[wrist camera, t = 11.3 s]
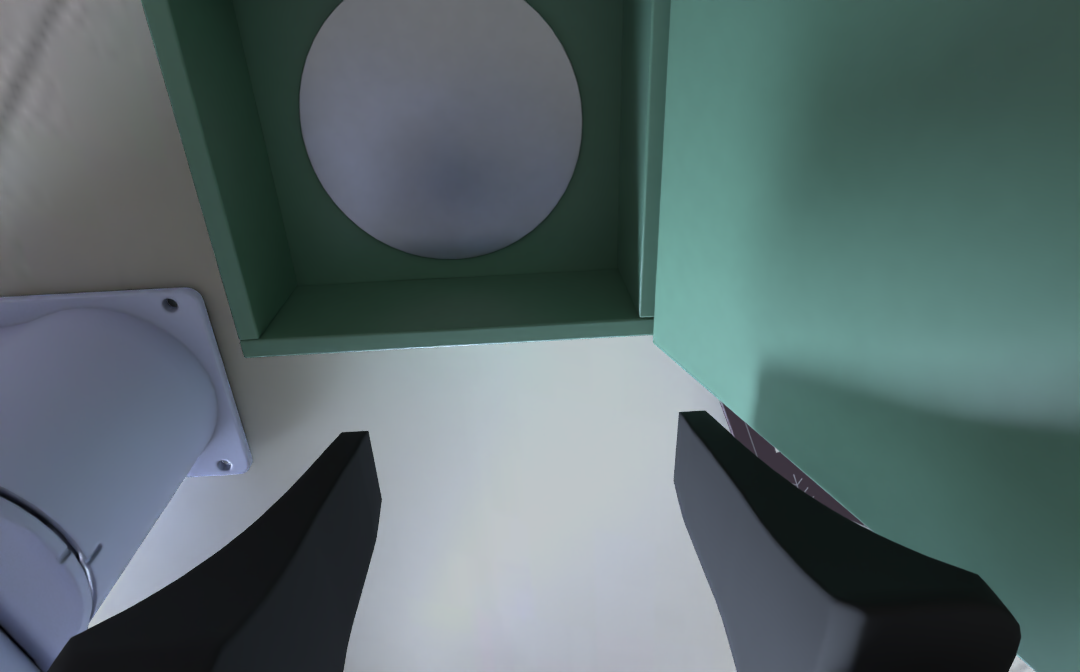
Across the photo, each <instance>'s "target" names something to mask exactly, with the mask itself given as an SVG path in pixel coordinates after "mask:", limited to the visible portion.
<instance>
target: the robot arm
mask: <svg viewBox="0 0 1080 672" xmlns="http://www.w3.org/2000/svg"><path fill="white" fill-rule="evenodd" d="M167 298H169V299H172V300H174V301H175V302H176V303H177V305H178V307H173V306H171V305H169V303H168V302H167ZM221 460H224V461H227V462H229V464H230V465H229V464H225V463H223V462H222V461H221ZM252 463H253V461H252V456H251V452H250V449H249V446H248V443H247V439H246V436H245V433H244V430H243V426H242V423H241V420H240V417H239V414H238V410H237V407H236V404H235V401H234V397H233V394H232V391H231V388H230V384H229V381H228V378H227V375H226V371H225V368H224V365H223V362H222V358H221V355H220V352H219V349H218V346H217V342H216V339H215V336H214V333H213V329H212V326H211V323H210V320H209V316H208V313H207V310H206V307H205V303H204V300H203V298H202V296H201V294H199V293H198V292H197V291H196V290H194V289H192V288H187V287H180V288H161V289H142V290H123V291H104V292H85V293H67V294H48V295H29V296H10V297H0V672H343V670H344V664H345V658H346V652H347V646H348V642H349V638H350V633H351V629H352V625H353V622H354V618H355V614H356V611H357V607H358V604H359V600H360V597H361V593H362V589H363V586H364V582H365V579H366V575H367V572H368V568H369V564H370V561H371V557H372V553H373V550H374V546H375V542H376V538H377V531H378V524H379V517H380V509H381V502H382V498H381V493H380V488H379V483H378V478H377V472H376V467H375V462H374V457H373V452H372V447H371V442H370V437H369V432H368V431H358V432H342V433H341V434H340V435H339V436H338V437H337V438H336V439H335V440H334V441H333V442H332V443H331V444H330V446H329V447H328V448H327V449H326V450H325V451H324V452H323V453H322V454H321V456H320V457H319V458H318V459H317V460H316V461H315V462H314V463H313V464H312V465H311V467H310V468H309V469H308V470H307V471H306V472H305V473H304V474H303V475H302V476H301V477H300V478H299V479H298V480H297V482H296V483H295V484H294V485H293V486H292V487H291V488H290V489H289V490H288V491H287V492H286V493H285V494H284V495H283V496H282V497H281V498H280V499H279V500H278V501H277V502H276V503H275V504H273V505H272V506H271V507H270V508H269V509H268V510H267V511H266V512H265V513H264V514H263V515H262V516H261V517H260V518H259V519H258V520H256V521H255V522H254V523H253V524H252V525H251V526H249V527H248V528H247V529H246V530H245V531H244V532H242V533H241V534H240V535H239V536H237V537H236V538H235V539H234V540H232V541H231V542H230V543H229V544H227V545H226V546H225V547H223V548H222V549H221V550H219V551H218V552H217V553H215V554H214V555H212V556H211V557H209V558H208V559H207V560H205V561H204V562H202V563H201V564H199V565H198V566H197V567H195V568H194V569H192V570H191V571H189V572H188V573H187V574H185V575H184V576H182V577H181V578H179V579H177V580H176V581H174V582H173V583H171V584H169V585H168V586H166V587H165V588H163V589H161V590H160V591H158V592H156V593H155V594H153V595H151V596H149V597H148V598H146V599H144V600H143V601H141V602H139V603H137V604H136V605H134V606H132V607H130V608H128V609H127V610H125V611H123V612H121V613H119V614H117V615H115V616H113V617H111V618H109V619H107V620H105V621H103V622H101V623H99V624H97V625H95V626H93V627H91V628H89V629H88V625H89V622H90V621H91V619H92V618H93V616H94V615H95V613H96V612H97V610H98V609H99V607H100V606H101V604H102V603H103V601H104V600H105V598H106V597H107V595H108V594H109V592H110V591H111V589H112V588H113V586H114V585H115V583H116V582H117V580H118V579H119V577H120V576H121V574H122V573H123V571H124V570H125V568H126V567H127V565H128V563H129V562H130V560H131V559H132V557H133V556H134V554H135V553H136V551H137V550H138V548H139V547H140V545H141V544H142V542H143V541H144V539H145V538H146V536H147V535H148V533H149V532H150V530H151V529H152V527H153V526H154V524H155V523H156V521H157V520H158V518H159V517H160V515H161V514H162V512H163V511H164V509H165V508H166V506H167V505H168V503H169V501H170V500H171V498H172V497H173V495H174V494H175V492H176V491H177V489H178V488H179V486H180V485H181V483H182V482H183V480H184V479H185V477H199V476H215V475H231V474H242V473H245V472H247V471H248V470H249V468H250V466H251V464H252ZM674 484H675V488H676V493H677V497H678V501H679V505H680V509H681V512H682V516H683V520H684V522H685V525H686V528H687V530H688V533H689V535H690V538H691V540H692V543H693V545H694V548H695V550H696V553H697V555H698V558H699V560H700V563H701V565H702V568H703V570H704V573H705V575H706V578H707V580H708V583H709V585H710V588H711V590H712V593H713V595H714V598H715V600H716V603H717V606H718V609H719V612H720V615H721V617H722V620H723V624H724V627H725V631H726V634H727V638H728V641H729V645H730V648H731V652H732V656H733V659H734V663H735V666H736V670H737V672H1008V671H1009V669H1010V667H1011V665H1012V663H1013V661H1014V659H1015V656H1016V654H1017V651H1018V647H1019V644H1020V640H1021V631H1020V625H1019V623H1018V622H1017V620H1016V619H1015V618H1014V616H1013V615H1012V613H1011V612H1010V611H1009V610H1008V609H1007V607H1006V606H1005V605H1004V604H1003V602H1002V601H1001V600H1000V599H999V597H998V596H997V595H996V594H995V593H994V591H993V590H992V589H991V588H990V587H989V586H988V585H987V583H986V582H985V581H984V580H983V579H982V578H981V577H980V576H979V575H978V574H975V573H973V572H970V571H967V570H964V569H962V568H959V567H956V566H953V565H950V564H948V563H945V562H942V561H939V560H937V559H934V558H931V557H928V556H926V555H923V554H921V553H919V552H916V551H914V550H912V549H909V548H907V547H905V546H902V545H900V544H898V543H896V542H893V541H891V540H889V539H887V538H885V537H883V536H881V535H878V534H876V533H874V532H872V531H870V530H868V529H867V528H865V527H863V526H861V525H859V524H857V523H855V522H853V521H851V520H849V519H848V518H846V517H844V516H842V515H840V514H839V513H837V512H835V511H834V510H832V509H830V508H829V507H827V506H825V505H824V504H822V503H821V502H819V501H817V500H816V499H814V498H813V497H811V496H809V495H808V494H806V493H805V492H803V491H802V490H801V489H799V488H798V487H796V486H795V485H793V484H792V483H791V482H789V481H788V480H787V479H785V478H784V477H783V476H781V475H780V474H779V473H777V472H776V471H775V470H773V469H772V468H771V467H769V466H768V465H767V464H766V463H764V462H763V461H762V460H761V459H759V458H758V457H757V456H756V455H755V454H753V453H752V452H751V451H750V450H749V449H748V448H746V447H745V446H744V445H743V444H742V443H741V442H740V441H738V440H737V439H736V438H735V437H734V436H733V435H732V434H731V433H729V432H728V431H727V430H726V429H725V428H724V427H723V426H722V425H721V424H720V423H718V422H717V421H716V420H715V419H714V418H713V417H712V416H711V415H710V414H708V413H707V412H706V411H690V412H679V420H678V432H677V445H676V458H675V470H674Z"/></svg>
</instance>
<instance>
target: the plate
mask: <svg viewBox="0 0 1080 672" xmlns="http://www.w3.org/2000/svg"><path fill="white" fill-rule="evenodd" d="M299 117H300V125H301V132H302V137H303V140H304V144H305V148H306V152H307V154H308V157H309V159H310V162H311V164H312V167H313V169H314V171H315V173H316V175H317V177H318V179H319V181H320V182H321V184H322V186H323V188H324V189H325V191H326V192H327V193H328V195H329V196H330V198H331V199H332V200H333V202H334V203H335V204H336V205H337V206H338V207H339V208H340V210H341V211H342V212H343V213H344V214H345V215H346V216H347V217H348V218H349V219H350V220H351V221H353V222H354V223H355V224H356V225H357V226H358V227H359V228H361V229H362V230H364V231H365V232H367V233H368V234H369V235H371V236H372V237H374V238H375V239H377V240H379V241H381V242H383V243H385V244H387V245H389V246H391V247H393V248H396V249H398V250H401V251H404V252H406V253H410V254H414V255H418V256H422V257H428V258H435V259H463V258H472V257H477V256H481V255H485V254H489V253H492V252H494V251H497V250H500V249H502V248H505V247H507V246H509V245H510V244H512V243H514V242H516V241H518V240H520V239H521V238H523V237H524V236H525V235H527V234H528V233H530V232H531V231H532V230H534V229H535V228H536V227H537V226H538V225H539V224H540V223H541V222H542V221H543V220H544V219H545V218H546V217H547V216H548V215H549V214H550V212H551V211H552V210H553V209H554V208H555V206H556V205H557V203H558V202H559V200H560V199H561V197H562V196H563V194H564V192H565V191H566V189H567V186H568V184H569V182H570V180H571V178H572V176H573V173H574V170H575V167H576V164H577V161H578V157H579V152H580V146H581V141H582V127H583V116H582V102H581V97H580V92H579V86H578V82H577V79H576V76H575V73H574V70H573V67H572V64H571V62H570V60H569V57H568V55H567V53H566V51H565V49H564V47H563V45H562V44H561V42H560V40H559V39H558V37H557V36H556V34H555V33H554V31H553V29H552V28H551V27H550V26H549V24H548V23H547V22H546V21H545V20H544V19H543V17H542V16H541V15H540V14H539V13H538V12H537V11H536V10H535V9H534V8H533V7H532V6H531V5H530V4H529V3H527V2H526V1H525V0H343V1H342V2H341V3H340V4H339V5H338V6H337V7H336V8H335V9H334V10H333V11H332V13H331V14H330V15H329V16H328V17H327V19H326V20H325V21H324V23H323V24H322V26H321V28H320V29H319V31H318V33H317V34H316V36H315V38H314V40H313V42H312V44H311V47H310V49H309V52H308V54H307V56H306V60H305V64H304V68H303V71H302V75H301V83H300V91H299Z"/></svg>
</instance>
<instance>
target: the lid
mask: <svg viewBox="0 0 1080 672" xmlns="http://www.w3.org/2000/svg"><path fill="white" fill-rule="evenodd" d="M653 343H654V344H655V345H656V346H657V347H658V348H660V349H661V350H662V351H663V352H664V353H665V354H667V355H668V356H669V357H670V358H671V359H672V360H674V361H675V362H676V363H677V364H678V365H679V366H681V367H682V368H683V369H684V370H685V371H686V372H687V373H689V374H690V375H691V376H692V377H693V378H694V379H696V380H697V381H698V382H699V383H700V384H701V385H703V386H704V387H705V388H706V389H707V390H708V391H710V392H711V393H712V394H713V395H714V396H715V397H717V398H718V399H719V400H720V401H721V402H722V403H724V404H725V405H726V406H727V407H728V408H729V409H731V410H732V411H733V412H734V413H735V414H736V415H738V416H739V417H740V418H741V419H742V420H743V421H745V422H746V423H747V424H748V425H749V426H750V427H752V428H753V429H754V430H755V431H756V432H757V433H758V434H760V435H761V436H762V437H763V438H764V439H765V440H767V441H768V442H769V443H770V444H771V445H772V446H774V447H775V448H776V449H777V450H778V451H779V452H781V453H782V454H783V455H784V456H785V457H786V458H788V459H789V460H790V461H791V462H792V463H793V464H795V465H796V466H797V467H798V468H799V469H800V470H802V471H803V472H804V473H805V474H806V475H807V476H809V477H810V478H811V479H812V480H813V481H814V482H816V483H817V484H818V485H819V486H820V487H821V488H822V489H824V490H825V491H826V492H827V493H828V494H829V495H831V496H832V497H833V498H834V499H835V500H836V501H838V502H839V503H840V504H841V505H842V506H843V507H845V508H846V509H847V510H848V511H849V512H850V513H852V514H853V515H854V516H855V517H856V518H857V519H859V520H860V521H861V522H862V523H863V524H864V525H866V526H867V527H868V528H869V529H870V530H871V531H873V532H874V533H876V534H878V535H881V536H883V537H885V538H887V539H889V540H891V541H893V542H896V543H898V544H900V545H902V546H905V547H907V548H909V549H912V550H914V551H916V552H919V553H921V554H923V555H926V556H928V557H931V558H934V559H937V560H939V561H942V562H945V563H948V564H950V565H953V566H956V567H959V568H962V569H964V570H967V571H970V572H973V573H975V574H978V575H979V576H980V577H981V578H982V579H983V580H984V581H985V582H986V583H987V585H988V586H989V587H990V588H991V589H992V590H993V591H994V593H995V594H996V595H997V596H998V597H999V599H1000V600H1001V601H1002V602H1003V604H1004V605H1005V606H1006V607H1007V609H1008V610H1009V611H1010V612H1011V613H1012V615H1013V616H1014V618H1015V619H1016V620H1017V622H1018V623H1019V625H1020V631H1021V640H1020V644H1019V647H1018V651H1017V654H1016V655H1017V656H1018V657H1019V658H1020V659H1022V660H1023V661H1024V662H1025V663H1026V664H1027V665H1029V666H1030V667H1031V668H1032V669H1033V670H1034V671H1035V672H1080V0H671V9H670V28H669V47H668V66H667V85H666V104H665V123H664V142H663V161H662V180H661V198H660V217H659V236H658V255H657V274H656V293H655V312H654V331H653Z"/></svg>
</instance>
